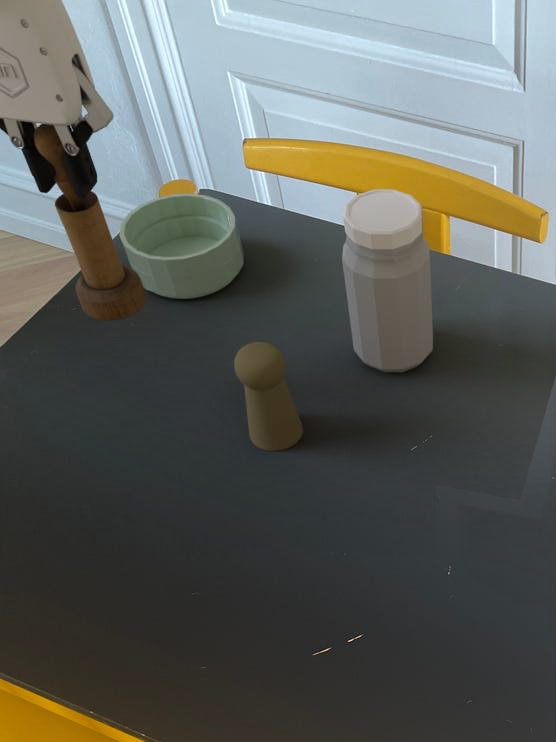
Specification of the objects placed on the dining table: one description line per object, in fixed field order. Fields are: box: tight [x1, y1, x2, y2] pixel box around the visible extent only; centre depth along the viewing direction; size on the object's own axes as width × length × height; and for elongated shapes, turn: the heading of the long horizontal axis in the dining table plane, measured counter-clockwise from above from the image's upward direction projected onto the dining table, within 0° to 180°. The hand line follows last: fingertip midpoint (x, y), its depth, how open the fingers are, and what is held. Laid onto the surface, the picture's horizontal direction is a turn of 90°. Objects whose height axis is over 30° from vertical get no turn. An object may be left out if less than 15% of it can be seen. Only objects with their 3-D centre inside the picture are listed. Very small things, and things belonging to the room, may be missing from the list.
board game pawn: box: [233, 341, 304, 452], centre depth 96 cm, size 6×6×11 cm
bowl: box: [119, 193, 245, 300], centre depth 114 cm, size 14×14×6 cm
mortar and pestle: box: [34, 124, 148, 322], centre depth 86 cm, size 7×6×18 cm
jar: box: [341, 189, 434, 373], centre depth 100 cm, size 10×10×18 cm
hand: (68, 185), depth 83 cm, fingers closed on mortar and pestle, 3 cm apart
